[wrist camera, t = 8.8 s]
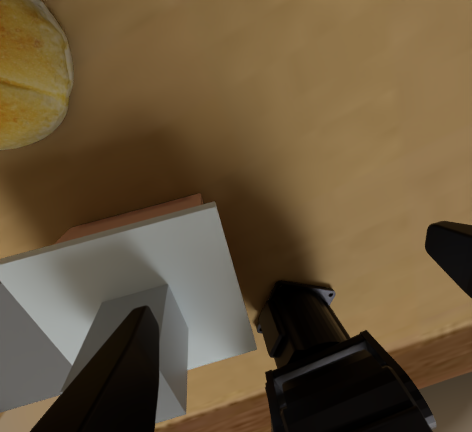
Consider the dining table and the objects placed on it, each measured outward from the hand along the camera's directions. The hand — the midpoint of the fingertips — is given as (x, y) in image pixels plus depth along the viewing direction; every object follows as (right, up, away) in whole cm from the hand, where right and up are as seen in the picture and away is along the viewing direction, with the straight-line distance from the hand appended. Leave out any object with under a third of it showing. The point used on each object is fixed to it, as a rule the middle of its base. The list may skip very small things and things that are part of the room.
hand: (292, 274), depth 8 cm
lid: (-7, -4, +9) cm, 12 cm away
